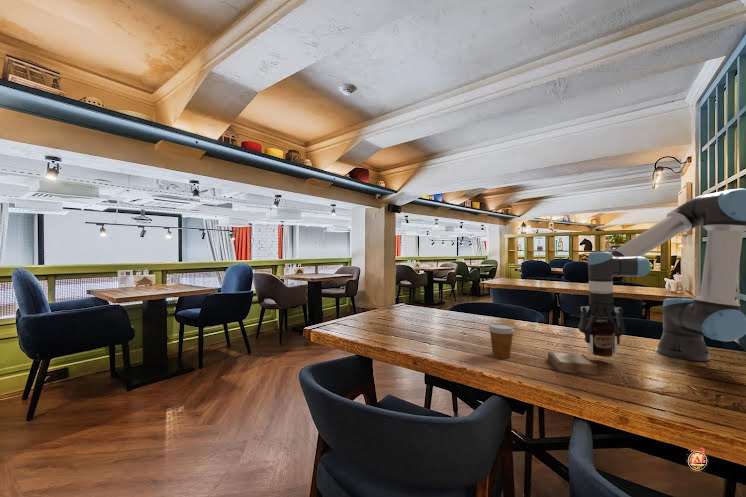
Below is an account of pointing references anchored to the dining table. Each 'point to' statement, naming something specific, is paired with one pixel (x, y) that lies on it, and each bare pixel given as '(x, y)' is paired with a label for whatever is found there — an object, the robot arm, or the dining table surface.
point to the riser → (572, 363)
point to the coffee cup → (602, 338)
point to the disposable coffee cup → (501, 340)
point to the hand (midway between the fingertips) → (602, 351)
